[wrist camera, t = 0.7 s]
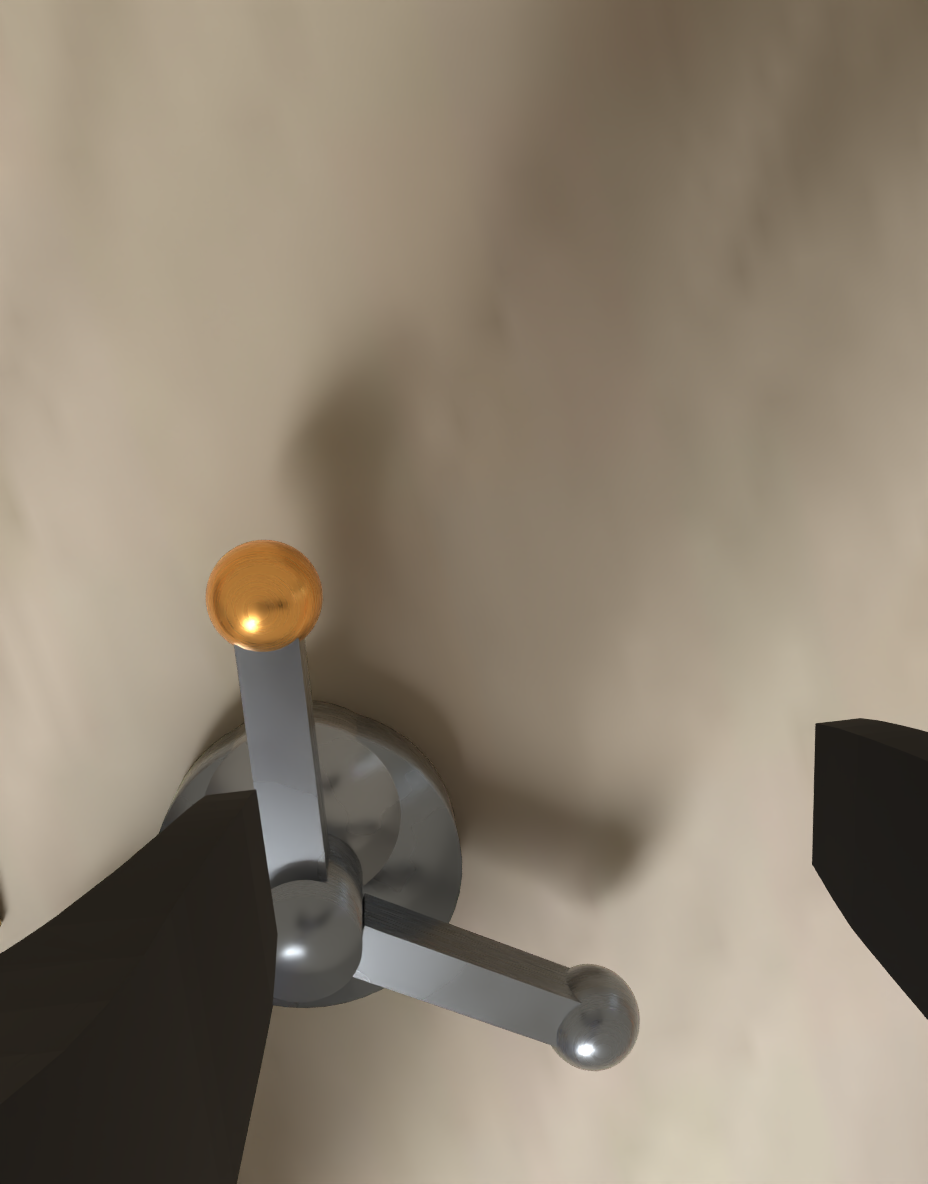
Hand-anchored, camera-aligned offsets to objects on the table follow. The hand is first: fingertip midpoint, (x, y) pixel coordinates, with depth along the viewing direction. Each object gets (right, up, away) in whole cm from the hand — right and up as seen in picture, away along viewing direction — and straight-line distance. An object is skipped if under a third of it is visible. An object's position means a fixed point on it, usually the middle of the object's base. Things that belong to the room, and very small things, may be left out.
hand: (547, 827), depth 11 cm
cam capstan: (-5, -2, +10) cm, 11 cm away
